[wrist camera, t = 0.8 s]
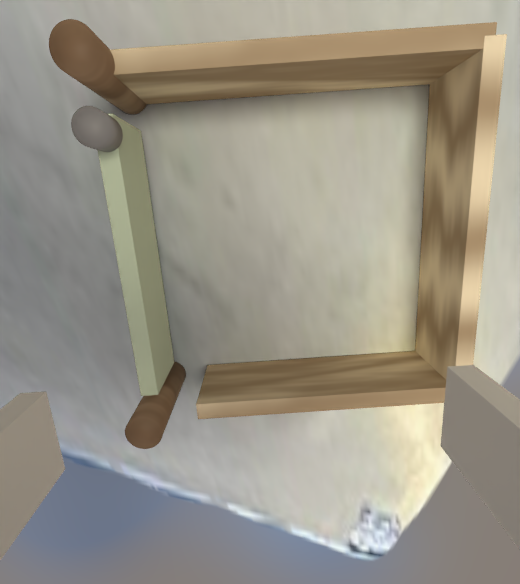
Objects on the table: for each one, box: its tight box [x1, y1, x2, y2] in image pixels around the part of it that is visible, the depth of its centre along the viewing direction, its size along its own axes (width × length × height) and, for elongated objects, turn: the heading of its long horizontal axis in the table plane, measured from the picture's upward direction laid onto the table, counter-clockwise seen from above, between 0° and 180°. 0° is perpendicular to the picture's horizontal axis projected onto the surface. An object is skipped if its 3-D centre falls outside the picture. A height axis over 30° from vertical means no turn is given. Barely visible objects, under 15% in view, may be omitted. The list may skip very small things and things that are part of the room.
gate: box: [71, 106, 174, 396], centre depth 23 cm, size 18×2×7 cm, turn 4°
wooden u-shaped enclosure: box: [49, 19, 507, 449], centre depth 23 cm, size 24×24×8 cm
